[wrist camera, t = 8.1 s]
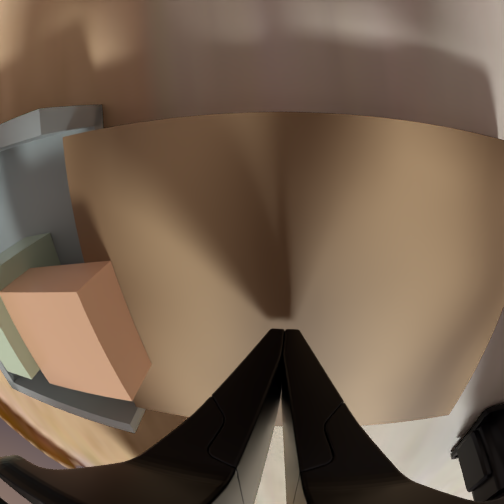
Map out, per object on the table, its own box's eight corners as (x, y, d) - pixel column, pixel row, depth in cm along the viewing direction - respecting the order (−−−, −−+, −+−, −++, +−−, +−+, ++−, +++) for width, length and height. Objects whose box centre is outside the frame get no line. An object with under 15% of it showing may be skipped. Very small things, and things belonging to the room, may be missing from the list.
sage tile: (-22, 281, 7) (-41, 281, 8) (31, 379, 9) (7, 371, 10) (49, 232, 11) (25, 237, 12) (83, 318, 13) (57, 316, 14)
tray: (102, 104, 10) (39, 108, 6) (157, 384, 15) (134, 433, 12) (-24, 146, 11) (-71, 162, 8) (38, 355, 17) (12, 387, 13)
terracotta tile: (110, 260, 9) (76, 291, 8) (151, 364, 11) (132, 401, 9) (30, 267, 10) (-2, 292, 8) (71, 354, 12) (49, 383, 10)
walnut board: (499, 140, 8) (539, 151, 6) (435, 379, 13) (448, 414, 11) (103, 129, 10) (62, 137, 8) (153, 372, 15) (136, 406, 13)
